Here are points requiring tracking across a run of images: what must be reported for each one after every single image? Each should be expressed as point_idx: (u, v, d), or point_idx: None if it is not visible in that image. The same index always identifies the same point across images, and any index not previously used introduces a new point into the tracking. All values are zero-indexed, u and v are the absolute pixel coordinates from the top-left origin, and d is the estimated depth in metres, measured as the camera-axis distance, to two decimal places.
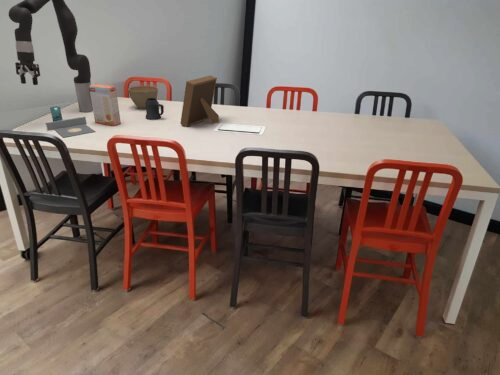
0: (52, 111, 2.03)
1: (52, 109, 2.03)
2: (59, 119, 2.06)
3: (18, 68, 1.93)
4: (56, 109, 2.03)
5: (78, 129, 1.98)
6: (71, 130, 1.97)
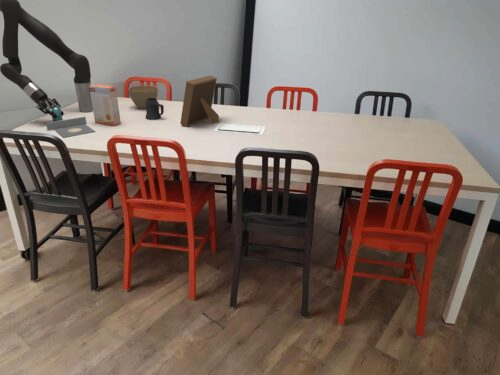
0: None
1: (52, 109, 2.03)
2: (59, 119, 2.06)
3: None
4: (56, 109, 2.03)
5: (78, 129, 1.98)
6: (71, 130, 1.97)
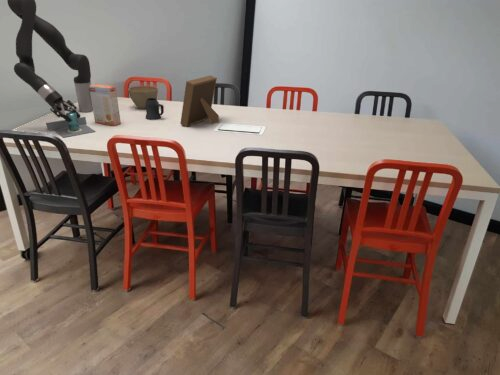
0: None
1: (68, 115, 1.91)
2: (75, 126, 1.95)
3: None
4: (72, 115, 1.92)
5: None
6: None
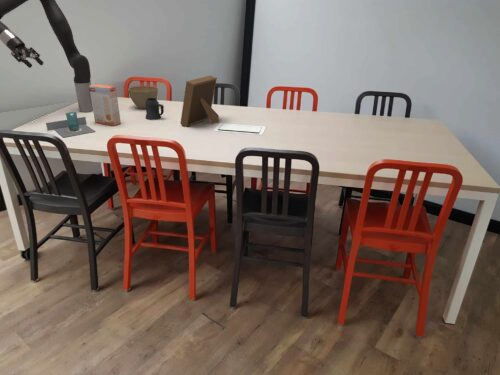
0: (68, 117, 1.92)
1: (68, 115, 1.91)
2: (75, 126, 1.95)
3: None
4: (72, 115, 1.92)
5: None
6: None
